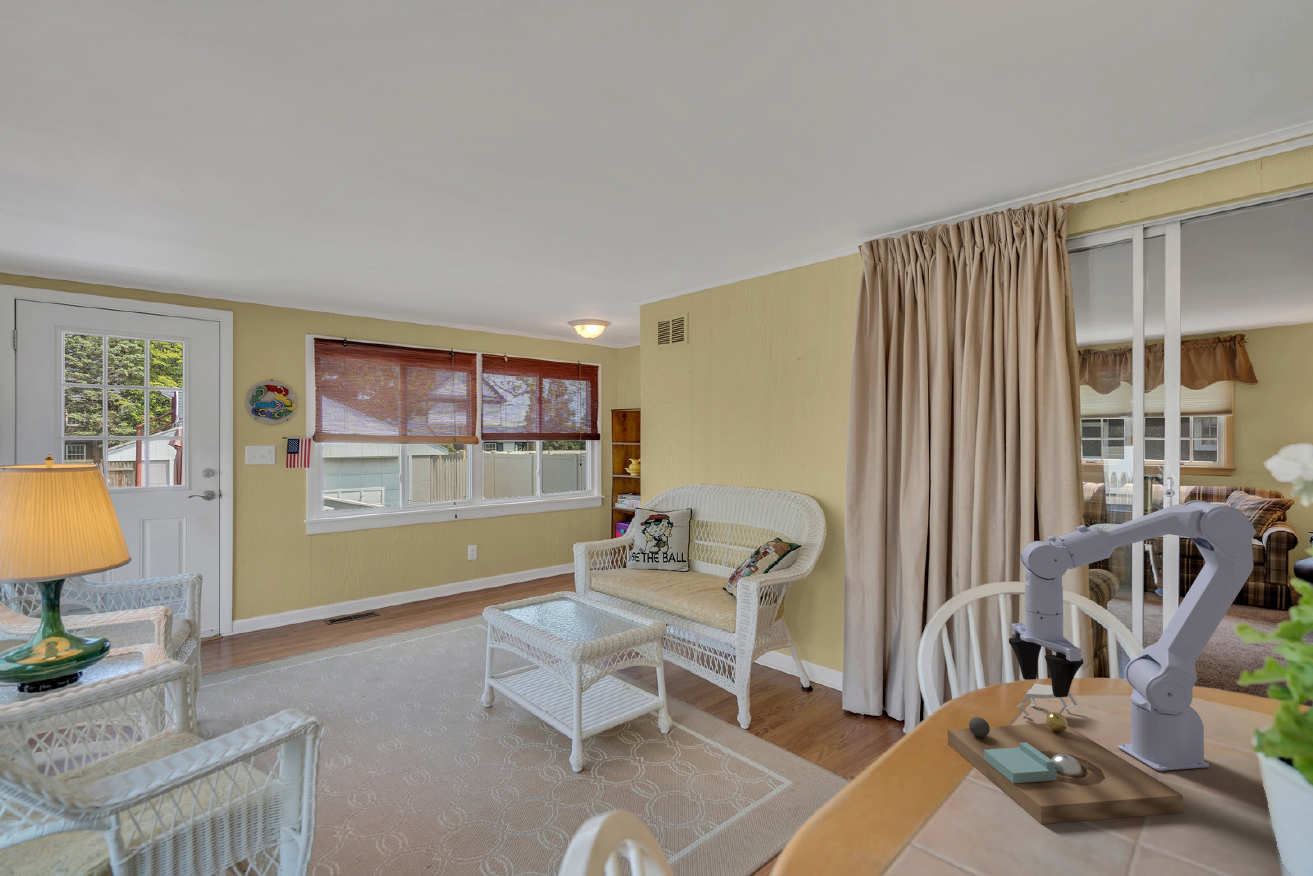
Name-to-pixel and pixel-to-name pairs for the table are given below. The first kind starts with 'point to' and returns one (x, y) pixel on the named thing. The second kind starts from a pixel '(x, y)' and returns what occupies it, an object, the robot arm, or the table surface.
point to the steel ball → (1067, 766)
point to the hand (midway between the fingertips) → (1044, 687)
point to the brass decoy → (1056, 722)
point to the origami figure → (1043, 696)
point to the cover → (1021, 764)
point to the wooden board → (1094, 796)
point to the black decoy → (979, 727)
